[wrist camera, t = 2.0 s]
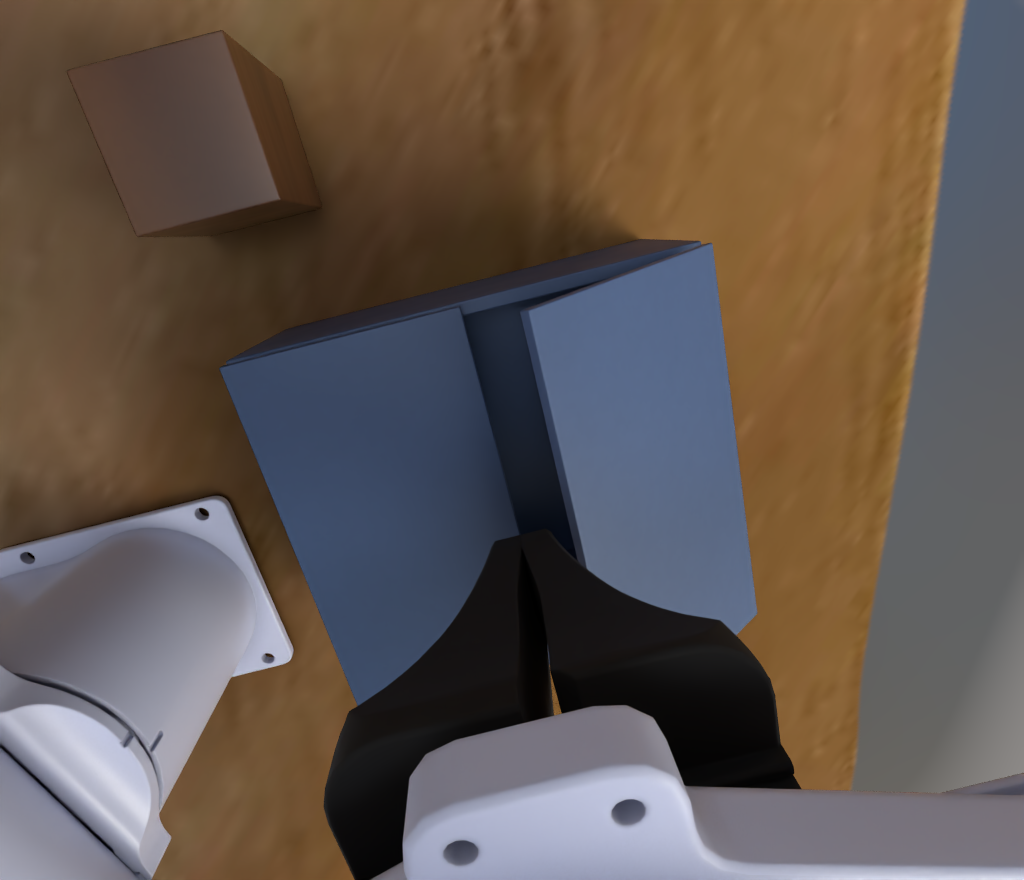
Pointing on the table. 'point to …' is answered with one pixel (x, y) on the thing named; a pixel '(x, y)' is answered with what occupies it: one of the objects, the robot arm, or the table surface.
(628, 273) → the flap
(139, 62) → the block
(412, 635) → the carton
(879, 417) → the table surface
